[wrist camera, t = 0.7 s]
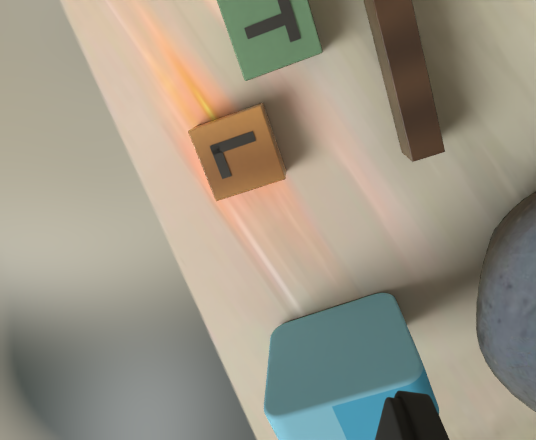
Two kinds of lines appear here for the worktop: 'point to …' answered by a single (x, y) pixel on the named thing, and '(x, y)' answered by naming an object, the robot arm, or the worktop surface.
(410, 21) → the walnut ledge
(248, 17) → the sage letter tile
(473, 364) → the worktop surface
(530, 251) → the pitcher
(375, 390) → the blue rounded slab
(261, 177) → the oak letter tile
